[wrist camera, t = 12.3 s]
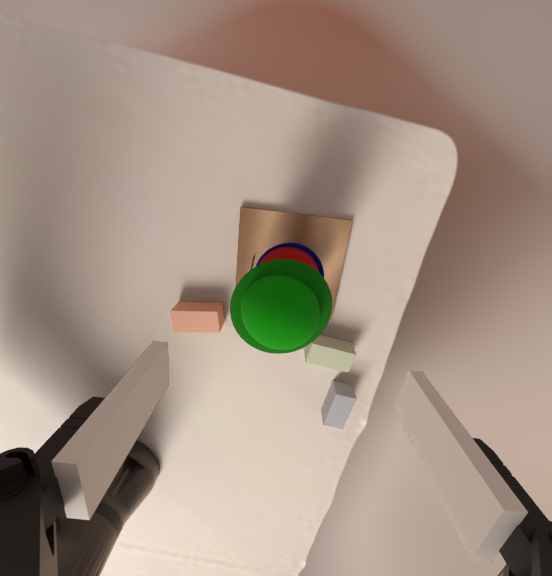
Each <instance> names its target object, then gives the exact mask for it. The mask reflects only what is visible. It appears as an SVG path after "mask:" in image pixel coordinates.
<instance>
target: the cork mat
mask: <svg viewBox="0 0 552 576" xmlns="http://www.w3.org/2000/svg"><path fill="white" fill-rule="evenodd" d="M351 226H352V220H344V219H336V218H328V217H320V216H312V215H304V214H296V213H288V212H279V211H271V210H263V209H255V208H247V207H241V208H240V224H239V240H238V256H237V272H236V286H237V284H238V283H239V281H240V280H241V279H242V278H243V277H244V276H245V274H247V273H248V272H249V271H250V269H251V264H252V260H253V257H254V255H255V259H254V263H253V268H255V267H256V264H257V262H258V260H259V259H260V257H261V256H262V255H263V254H264V253H265V252H266V251H267V250H268V249H270V248H272V247H273V246H276V245H278V244H282V243H298V244H301V245H304V246H306V247H308V248H309V249H311V250H312V251H313V252H314V253H315V254H316V255H317V256H318V258H319V259H320V261H321V263H322V266H323V270H324V279H325V280H326V282H327V284H328V286H329V288H330V291H331V296H332V312H331V316H330V319H329V320H331V318H332V313H333V308H334V304H335V299H336V295H337V290H338V285H339V281H340V276H341V272H342V267H343V262H344V258H345V253H346V249H347V244H348V239H349V235H350V230H351ZM255 253H256V254H255ZM253 268H252V269H253ZM235 288H236V287H235Z"/></svg>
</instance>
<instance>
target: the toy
mask: <svg viewBox="0 0 552 576" xmlns="http://www.w3.org/2000/svg"><path fill="white" fill-rule="evenodd" d="M255 254H256V253H255ZM254 259H255V255H254V257H253V260H252V264H251V269H250V271H249V272H248V273H247V274H245V276H244V277H243V278H242V279H241V280H240V281H239V283H238V284H237V286H236V288H235V290H234V292H233V295H232V299H231V304H230V313H231V319H232V322H233V325H234V327H235V329H236V331H237V333H238V334H239V335H240V337H241V338H242V339H243V340H244V341H245V342H246V343H248V344H249V345H251V346H252V347H254V348H256V349H258V350H261V351H264V352H268V353H279V354H280V353H289V352H293V351H296V350H299V349H302V348H304V347H305V346H307V345H309V344H310V343H312V342H313V341H314V340H315V339H317V337H318V336H319V335H320V334H321V333H322V332H323V330H324V329H325V327H326V326H327V324H328V321H329V319H330V316H331V312H332V296H331V291H330V288H329V286H328V284H327V282H326V280H325V279H324V270H323V266H322V263H321V261H320V259H319V258H318V256H317V255H316V254H315V253H314V252H313V251H312V250H311V249H309V248H308V247H306V246H304V245H301V244H298V243H282V244H278V245H276V246H273V247H272V248H270V249H268V250H267V251H266V252H265V253H264V254H263V255H262V256H261V257H260V259H259V260H258V262H257V264H256V267H255V268H253V263H254ZM252 268H253V269H252Z"/></svg>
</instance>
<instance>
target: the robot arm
mask: <svg viewBox="0 0 552 576" xmlns="http://www.w3.org/2000/svg"><path fill="white" fill-rule="evenodd" d="M168 385H169V364H168V343H165V342H156V341H153V342H152V343H151V345H150V346H149V347H148V348H147V349H146V351H145V352H144V353H143V354H142V355H141V356H140V358H139V359H138V360H137V361H136V362H135V363H134V365H133V366H132V367H131V368H130V369H129V371H128V372H127V373H126V374H125V375H124V376H123V378H122V379H121V380H120V381H119V382H118V384H117V385H116V386H115V387H114V388H113V389H112V391H111V392H110V393H109V394H108V395H107V396H106V398H99V397H92V398H91V399H89V400H88V401H86V402H85V403H83V404H82V405H80V406H79V407H78V408H77V409H76V410H75V411H74V412H73V413H72V415H71V416H70V417H69V419H67V420H66V421H65V422H64V423H63V424H62V425H61V428H58V430H57V431H56V432H55V433H54V434H53V435H52V436H51V437H50V438H49V439H48V440H47V441H46V442H45V443H44V444H43V446H42V447H41V448H40V449H39V450H38V451H37V452H36V453H35V454H34V452H33V450H31V449H29V448H15V449H11V450H7V451H5V452H3V453H1V454H0V576H100V574H101V572H102V570H103V568H104V565H105V563H106V561H107V559H108V557H109V555H110V553H111V551H112V549H113V547H114V544H115V542H116V540H117V538H118V536H119V534H120V532H121V530H122V528H123V526H124V524H125V522H126V521H127V520H128V519H129V517H130V516H131V515H132V514H133V513H134V511H135V510H136V509H137V508H138V506H139V505H140V504H141V503H142V501H143V500H144V499H145V498H146V496H147V495H148V494H149V493H150V491H151V490H152V488H153V486H154V484H155V481H156V479H157V477H158V474H159V465H158V462H157V460H156V458H155V456H154V455H153V454H152V452H151V451H150V450H149V449H148V448H146V447H145V446H144V445H142V444H141V443H139V442H138V441H136V440H137V438H138V436H139V435H140V433H141V431H142V430H143V428H144V426H145V424H146V423H147V421H148V419H149V418H150V416H151V414H152V412H153V411H154V409H155V407H156V406H157V404H158V402H159V400H160V399H161V397H162V395H163V394H164V392H165V390H166V388H167V387H168ZM395 410H396V412H397V414H398V416H399V418H400V420H401V422H402V424H403V426H404V428H405V430H406V432H407V434H408V436H409V438H410V440H411V442H412V444H413V446H414V448H415V450H416V452H417V454H418V456H419V458H420V460H421V462H422V464H423V466H424V468H425V470H426V472H427V474H428V476H429V478H430V480H431V482H432V484H433V486H434V488H435V490H436V492H437V494H438V496H439V498H440V500H441V502H442V504H443V506H444V508H445V510H446V512H447V514H448V516H449V518H450V520H451V522H452V524H453V526H454V528H455V530H456V532H457V534H458V536H459V538H460V540H461V542H462V544H463V546H464V548H465V550H466V552H467V554H468V556H469V558H470V560H477V561H487V562H492V561H493V560H494V558H495V557H496V556H497V554H498V553H499V552H500V553H501V555H502V556H503V558H504V560H505V561H506V563H507V564H506V566H505V567H504V568H503V569H502V571H501V572H500V573H499V575H498V576H552V522H551V521H549V520H548V519H547V518H546V517H545V515H544V514H543V513H542V511H541V510H540V509H539V508H538V506H537V505H536V504H535V503H534V501H533V500H532V499H531V498H530V496H529V495H528V494H527V493H526V492H525V490H524V489H523V488H522V486H521V485H520V484H519V483H518V481H517V480H516V479H515V478H514V477H512V475H511V473H510V471H509V470H508V469H507V468H506V466H504V465H503V462H502V461H501V460H500V459H499V457H498V456H497V455H496V454H495V452H494V451H493V450H492V449H491V448H489V447H488V446H487V445H486V444H485V443H484V442H483V441H481V440H480V439H476V438H472V437H471V436H470V434H469V433H468V432H467V430H466V429H465V428H464V426H463V425H462V424H461V422H460V421H459V420H458V418H457V417H456V416H455V414H454V413H453V412H452V410H451V409H450V408H449V406H448V405H447V404H446V402H445V401H444V400H443V398H442V397H441V396H440V395H439V393H438V392H437V390H436V389H435V388H434V386H433V385H432V384H431V383H430V381H429V380H428V378H427V377H426V376H425V374H424V373H423V372H419V371H408V374H407V377H406V380H405V382H404V385H403V388H402V391H401V393H400V396H399V399H398V402H397V404H396V407H395Z"/></svg>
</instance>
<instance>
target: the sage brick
mask: <svg viewBox="0 0 552 576" xmlns="http://www.w3.org/2000/svg"><path fill="white" fill-rule="evenodd" d="M304 351H305V362H308V363H312V364H316V365H320V366H324V367H328V368H332V369H336V370H340V371H344V372H349V370H350V368H351V365H352V363H353V361H354V359H355V357H356V352H355V350H354V347H353V345H352V343H351V342H347V341H343V340H339V339H336V338H332V337H328V336H324V335H319V336H318V337H317V339H315V340H314V341H313V342H312V343H310V344H309V345H307V346H305V349H304Z"/></svg>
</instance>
